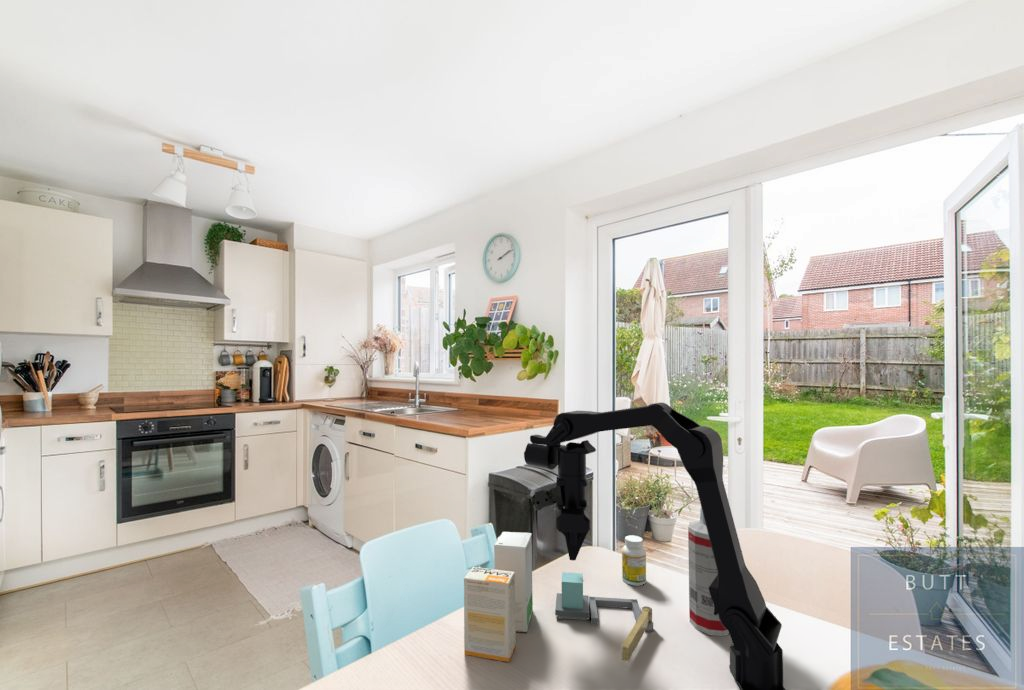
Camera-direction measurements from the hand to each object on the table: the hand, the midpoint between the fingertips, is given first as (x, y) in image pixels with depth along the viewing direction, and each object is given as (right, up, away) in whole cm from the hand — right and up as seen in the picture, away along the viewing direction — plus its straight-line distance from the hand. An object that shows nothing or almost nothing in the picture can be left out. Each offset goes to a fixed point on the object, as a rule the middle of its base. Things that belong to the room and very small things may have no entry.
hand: (572, 550), depth 91 cm
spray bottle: (+26, -12, -5) cm, 29 cm away
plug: (0, -11, -1) cm, 11 cm away
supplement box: (-16, -12, -13) cm, 24 cm away
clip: (+10, -10, -12) cm, 19 cm away
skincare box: (-12, -12, -4) cm, 17 cm away
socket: (+8, -12, -3) cm, 15 cm away
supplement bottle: (+16, -13, +12) cm, 24 cm away
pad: (0, -12, -1) cm, 12 cm away
